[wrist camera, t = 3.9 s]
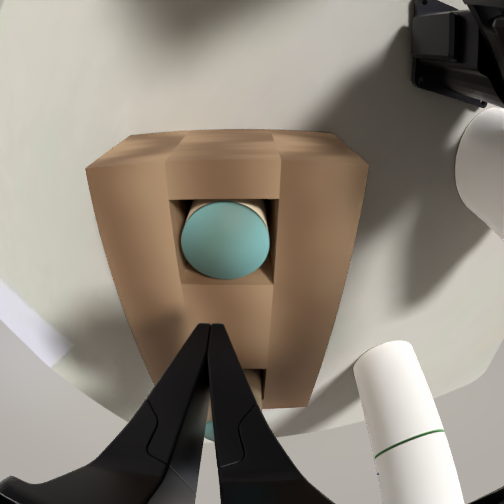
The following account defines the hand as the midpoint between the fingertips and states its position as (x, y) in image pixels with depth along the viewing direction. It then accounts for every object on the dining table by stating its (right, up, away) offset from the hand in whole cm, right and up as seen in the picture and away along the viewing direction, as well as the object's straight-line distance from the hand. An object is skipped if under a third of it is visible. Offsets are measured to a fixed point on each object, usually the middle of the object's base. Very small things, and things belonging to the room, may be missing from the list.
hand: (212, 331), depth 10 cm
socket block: (0, +1, +12) cm, 12 cm away
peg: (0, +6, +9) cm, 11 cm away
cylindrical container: (+16, -9, +20) cm, 27 cm away
